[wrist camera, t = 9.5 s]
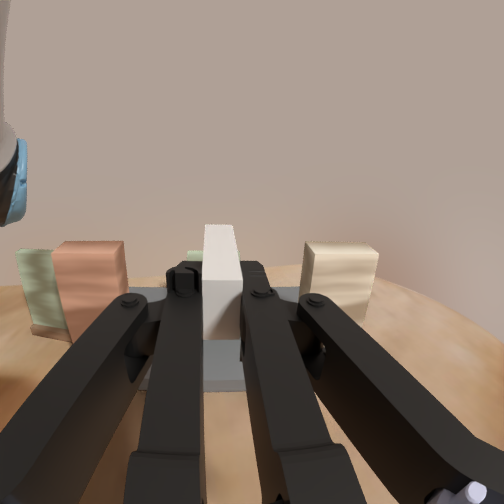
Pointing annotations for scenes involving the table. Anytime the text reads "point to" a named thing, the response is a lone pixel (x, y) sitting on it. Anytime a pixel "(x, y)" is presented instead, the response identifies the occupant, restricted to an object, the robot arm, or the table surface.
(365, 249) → the cream flap
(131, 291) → the board
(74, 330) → the terracotta flap
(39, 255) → the card
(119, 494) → the table surface
